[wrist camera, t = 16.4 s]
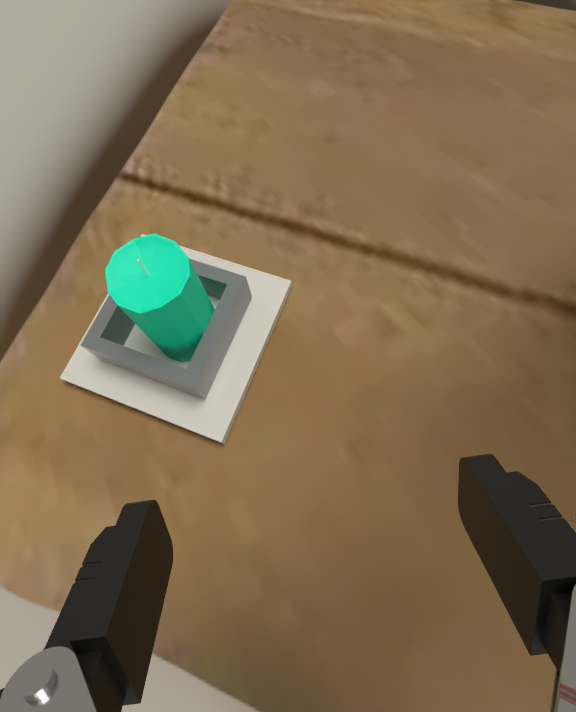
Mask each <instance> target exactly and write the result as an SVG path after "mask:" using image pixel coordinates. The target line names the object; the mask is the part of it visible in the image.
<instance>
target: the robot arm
mask: <svg viewBox="0 0 576 712" xmlns="http://www.w3.org/2000/svg"><path fill="white" fill-rule="evenodd" d="M458 507H459V513H460V517H461V520H462V523H463V525H464V527H465V529H466V531H467V533H468V535H469V537H470V539H471V541H472V543H473V545H474V547H475V549H476V551H477V553H478V555H479V557H480V559H481V561H482V562H483V564H484V566H485V568H486V570H487V572H488V574H489V576H490V578H491V580H492V582H493V584H494V586H495V588H496V590H497V592H498V594H499V596H500V598H501V599H502V601H503V603H504V605H505V607H506V609H507V611H508V613H509V615H510V617H511V619H512V621H513V623H514V625H515V627H516V629H517V631H518V633H519V635H520V637H521V638H522V640H523V642H524V644H525V646H526V648H527V650H528V652H529V654H530V656H531V655H539V654H547V653H548V655H549V656H550V658H551V660H552V662H553V664H554V665H555V667H556V674H555V680H554V686H553V693H552V700H551V706H550V712H576V533H575V531H574V530H573V529H572V528H571V526H570V525H569V524H568V523H567V521H566V520H565V519H563V518H562V515H561V514H560V513H559V511H558V510H557V509H556V507H555V506H554V505H552V504H551V501H550V500H549V499H548V497H547V496H546V495H545V494H544V492H543V491H542V490H541V489H540V487H539V486H538V485H537V484H536V483H534V482H533V481H531V480H530V479H528V478H527V477H525V476H524V475H522V474H521V473H519V472H518V471H517V472H509V473H506V471H505V470H504V469H503V467H502V466H501V465H500V463H499V462H498V460H497V459H496V458H495V457H494V456H493V455H492V454H486V455H479V456H471V457H464V458H461V459H460V462H459V486H458ZM172 563H173V546H172V541H171V538H170V535H169V532H168V529H167V527H166V524H165V521H164V518H163V516H162V513H161V510H160V507H159V505H158V503H157V501H156V500H149V501H142V502H134V503H127V504H125V505H124V507H123V508H122V511H121V513H120V516H119V518H118V521H117V523H116V526H111V527H106V528H105V529H104V530H103V531H102V532H101V533H100V535H99V536H98V537H97V538H96V539H95V540H94V542H93V543H92V544H91V545H90V548H89V550H88V552H87V554H86V557H85V559H84V561H83V563H82V564H83V566H82V567H81V568H80V570H79V572H78V575H77V577H76V579H75V580H76V582H75V584H73V586H72V588H71V590H70V592H69V595H68V597H67V599H66V601H65V604H64V606H63V608H62V610H61V613H60V615H59V617H58V619H57V622H56V624H55V626H54V628H53V631H52V633H51V635H50V637H49V640H48V642H47V644H46V646H45V648H44V650H43V651H41V652H39V653H37V654H35V655H34V656H32V657H31V658H30V659H28V660H27V661H26V662H25V663H24V664H23V665H22V666H20V667H19V668H18V670H17V671H16V672H15V673H14V674H13V676H12V677H11V678H10V680H9V681H8V683H7V685H6V686H5V688H3V689H1V690H0V712H121V710H122V706H123V705H130V704H138V703H141V699H142V694H143V690H144V685H145V681H146V676H147V672H148V668H149V664H150V659H151V655H152V651H153V646H154V642H155V638H156V633H157V629H158V625H159V620H160V616H161V612H162V607H163V603H164V599H165V594H166V590H167V586H168V581H169V577H170V573H171V568H172Z"/></svg>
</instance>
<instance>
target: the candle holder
mask: <svg viewBox="0 0 576 712" xmlns="http://www.w3.org/2000/svg"><path fill="white" fill-rule="evenodd" d="M143 236H147V235H144V234H142V235H141V237H143ZM179 247H180V248H181V249H182V250H183V251H184V252H185V253H186V255H187V256H188V257H189V259H190V261H191V263H192V265H193V267H194V269H195V271H196V273H197V275H198V277H199V279H200V281H201V283H202V285H203V287H204V289H205V291H206V293H207V295H208V297H209V299H210V301H211V303H212V305H213V307H214V309H215V311H214V313H213V315H212V317H211V319H210V321H209V323H208V325H207V327H206V330H205V332H204V334H203V336H202V338H201V340H200V342H199V344H198V346H197V348H196V350H195V352H194V354H193V357H192V359H191V361H189V362H184V363H183V362H180V361H177V360H174V359H172V358H169V357H167V356H166V355H165V354H164V353H163V352H162V351H161V350H160V349H159V348H158V347H157V345H156V344H155V343H154V342H153V341H152V340H151V339H150V338H149V337H148V336H147V335H146V334H145V333H144V332H143V331H142V330H141V329H140V328H139V327H138V326H137V325H136V324H135V323H134V322H133V321H132V320H131V319H130V317H129V316H128V315H127V314H126V313H125V312H124V311H123V310H122V309H121V308H120V307H119V306H118V305H117V304H116V302H115V301H114V300H113V298H112V297H111V296H110V294H109V293H108V295H107V296H106V298H105V300H104V302H103V303H102V305H101V307H100V309H99V310H98V312H97V314H96V316H95V317H94V319H93V321H92V323H91V324H90V326H89V328H88V330H87V331H86V333H85V335H84V337H83V338H82V340H81V342H80V344H79V345H78V347H77V349H76V350H75V352H74V354H73V356H72V357H71V359H70V361H69V363H68V364H67V366H66V368H65V370H64V371H63V373H62V375H61V377H60V379H62V380H64V381H66V382H68V383H71V384H73V385H76V386H78V387H81V388H83V389H86V390H88V391H91V392H93V393H96V394H99V395H101V396H104V397H106V398H109V399H111V400H114V401H116V402H119V403H121V404H124V405H126V406H129V407H131V408H134V409H136V410H139V411H141V412H144V413H146V414H149V415H151V416H154V417H156V418H159V419H161V420H164V421H166V422H169V423H171V424H174V425H176V426H179V427H181V428H184V429H186V430H189V431H192V432H194V433H197V434H199V435H202V436H204V437H207V438H209V439H212V440H214V441H217V442H219V443H222V444H225V442H226V439H227V437H228V435H229V432H230V430H231V428H232V425H233V423H234V421H235V418H236V416H237V414H238V411H239V409H240V407H241V405H242V402H243V400H244V398H245V395H246V393H247V391H248V388H249V386H250V384H251V381H252V379H253V377H254V374H255V372H256V370H257V367H258V365H259V363H260V360H261V358H262V356H263V353H264V351H265V349H266V346H267V344H268V342H269V339H270V337H271V335H272V332H273V330H274V328H275V325H276V323H277V321H278V319H279V316H280V314H281V312H282V309H283V307H284V305H285V302H286V300H287V298H288V295H289V293H290V291H291V288H292V283H291V281H290V280H287V279H284V278H280V277H277V276H274V275H271V274H268V273H264V272H261V271H258V270H255V269H252V268H249V267H245V266H242V265H239V264H236V263H233V262H230V261H226V260H223V259H220V258H217V257H214V256H210V255H207V254H204V253H201V252H198V251H195V250H191V249H188V248H185V247H182V246H179Z"/></svg>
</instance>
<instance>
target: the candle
mask: <svg viewBox="0 0 576 712" xmlns="http://www.w3.org/2000/svg"><path fill="white" fill-rule="evenodd" d="M105 274H106V281H107V289H108V293H109V294H110V296H111V297H112V298H113V300H114V301H115V302H116V304H117V305H118V306H119V307H120V308H121V309H122V310H123V311H124V312H125V313H126V314H127V315H128V316H129V317H130V319H131V320H132V321H133V322H134V323H135V324H136V325H137V326H138V327H139V328H140V329H141V330H142V331H143V332H144V333H145V334H146V335H147V336H148V337H149V338H150V339H151V340H152V341H153V342H154V343H155V344H156V345H157V347H158V348H159V349H160V350H161V351H162V352H163V353H164V354H165V355H166V356H167V357H169V358H172V359H174V360H177V361H180V362H183V363H184V362H189V361H191V359H192V357H193V354H194V352H195V350H196V348H197V346H198V344H199V342H200V340H201V338H202V336H203V334H204V332H205V330H206V327H207V325H208V323H209V321H210V319H211V317H212V315H213V313H214V311H215V309H214V307H213V305H212V303H211V301H210V299H209V297H208V295H207V293H206V291H205V289H204V287H203V285H202V283H201V281H200V279H199V277H198V275H197V273H196V271H195V269H194V267H193V265H192V263H191V261H190V259H189V257H188V256H187V255H186V253H185V252H184V251H183V250H182V249H181V248H180V247H179V245H178V244H177V243H176V242H175V241H173V240H170V239H167V238H165V237H162V236H159V235H157V234H150V235H147V236H143V237H139V238H135V239H133V240H131V241H130V242H128V243H127V244H125V245H124V246H122V247H120V248H119V249H117V250H116V251H115V252H114V254H113V256H112V258H111V260H110V262H109V264H108V266H107V268H106V269H105Z"/></svg>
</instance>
